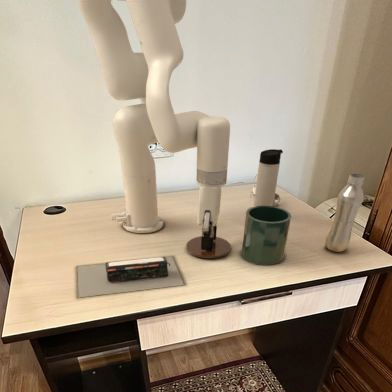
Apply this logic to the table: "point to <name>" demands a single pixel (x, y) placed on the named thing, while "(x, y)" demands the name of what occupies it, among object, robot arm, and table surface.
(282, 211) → the green ceramic cup
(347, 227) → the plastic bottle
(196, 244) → the lid
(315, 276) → the table surface
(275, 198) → the woman figurine
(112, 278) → the grey board with block
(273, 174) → the travel mug
